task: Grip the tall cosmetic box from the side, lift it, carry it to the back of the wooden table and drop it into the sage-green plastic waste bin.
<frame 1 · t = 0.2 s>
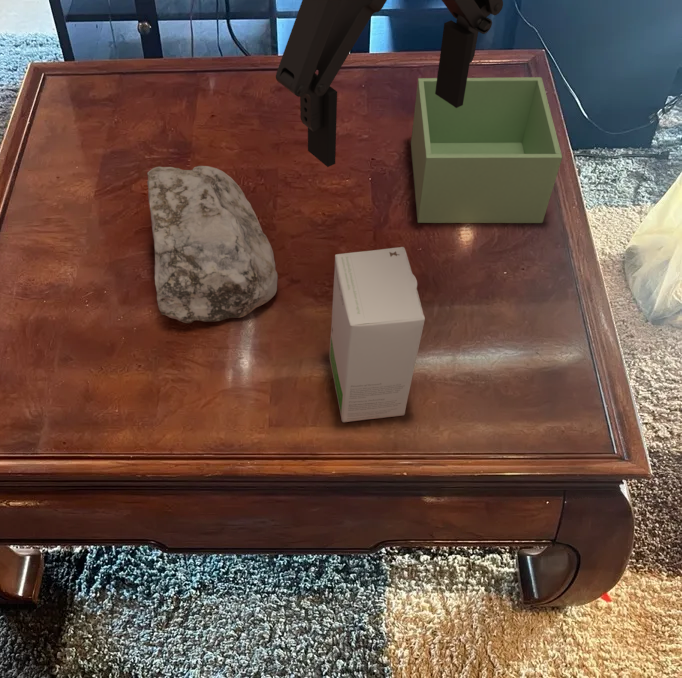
hand: (387, 127, 67), 23 cm above the table, tool pointing down, fingers open, 13 cm apart
cosmetic box: (368, 387, 80), on the table
bin: (473, 181, 97), on the table
decorative stone: (212, 260, 91), on the table
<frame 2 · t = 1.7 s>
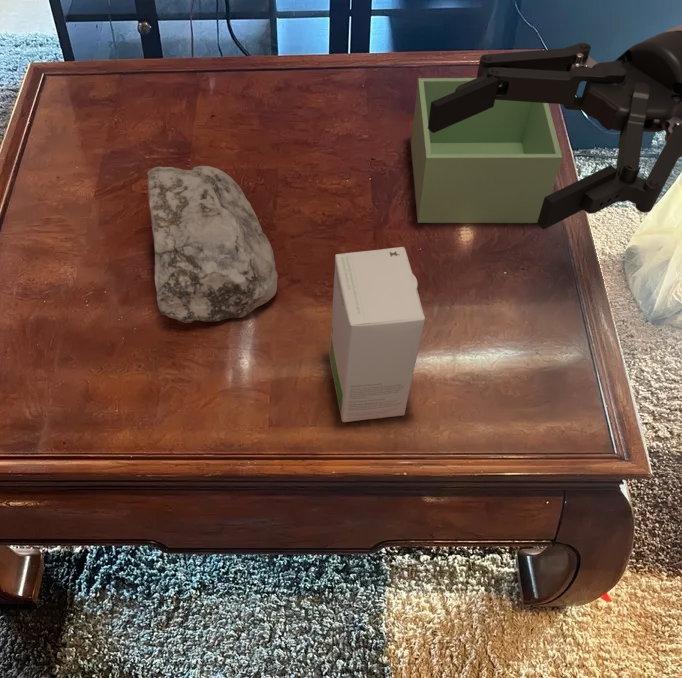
hand: (484, 163, 64), 24 cm above the table, tool horizontal, fingers open, 13 cm apart
nothing on the table moved.
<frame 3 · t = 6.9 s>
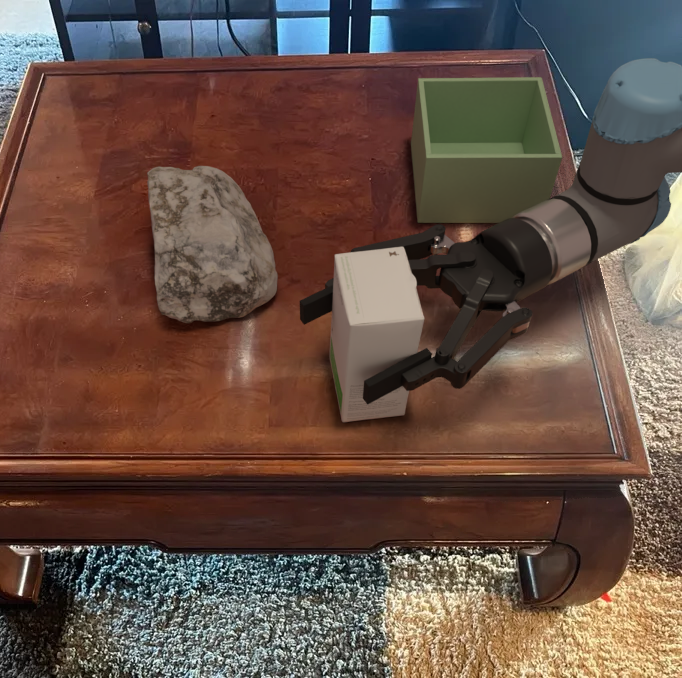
hand: (332, 351, 71), 9 cm above the table, tool horizontal, fingers closed on cosmetic box, 10 cm apart
cosmetic box: (368, 387, 80), on the table, touching gripper
everything else where it was.
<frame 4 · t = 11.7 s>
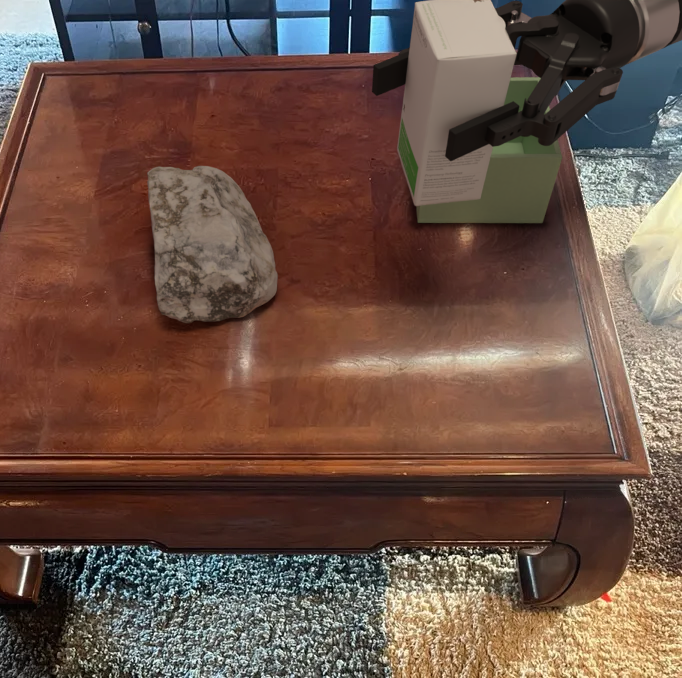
hand: (411, 111, 67), 24 cm above the table, tool horizontal, fingers closed on cosmetic box, 10 cm apart
cosmetic box: (439, 177, 76), point 15 cm above the table, touching gripper
everything else where it was.
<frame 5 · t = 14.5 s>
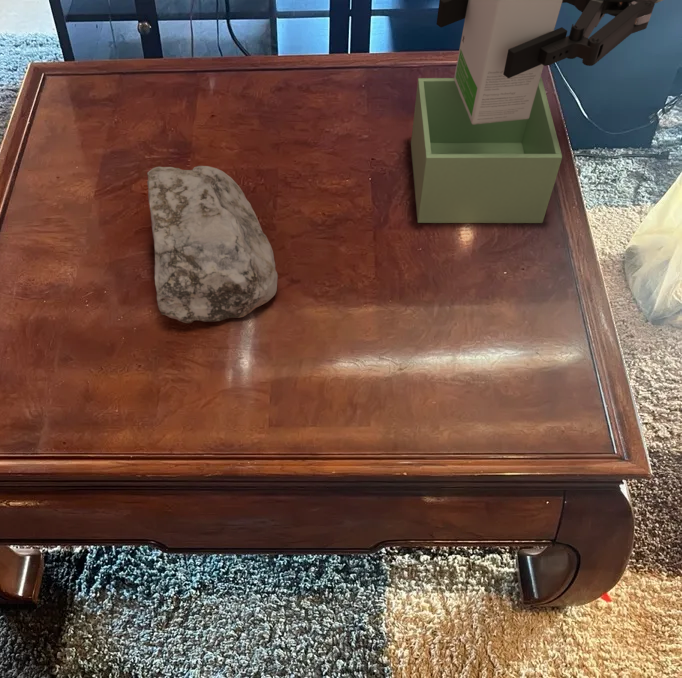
hand: (473, 38, 79), 21 cm above the table, tool horizontal, fingers closed on cosmetic box, 10 cm apart
cosmetic box: (492, 101, 87), point 12 cm above the table, touching gripper
everything else where it was.
when the fingers open (15 cm above the table, at t = 16.8 s): cosmetic box drops 6 cm, resting on bin.
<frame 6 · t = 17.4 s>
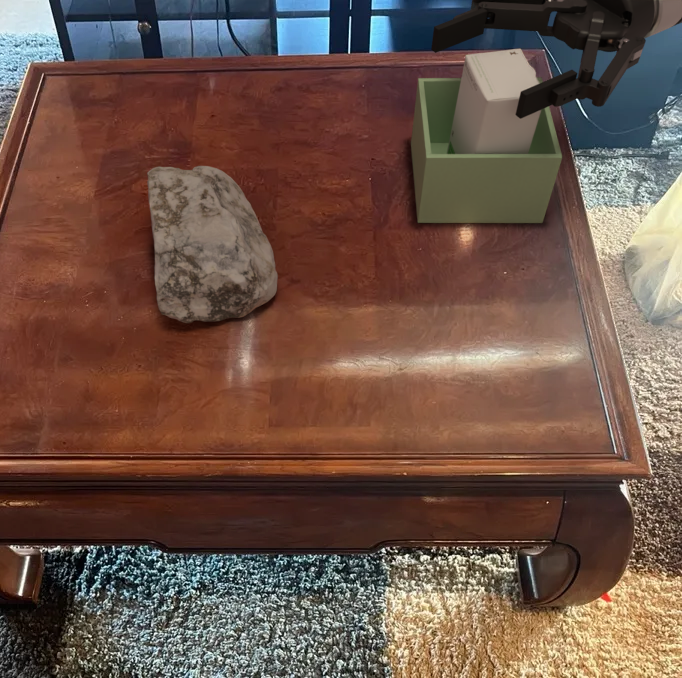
hand: (475, 71, 82), 17 cm above the table, tool horizontal, fingers open, 13 cm apart
cosmetic box: (479, 187, 96), resting on bin
everything else where it was.
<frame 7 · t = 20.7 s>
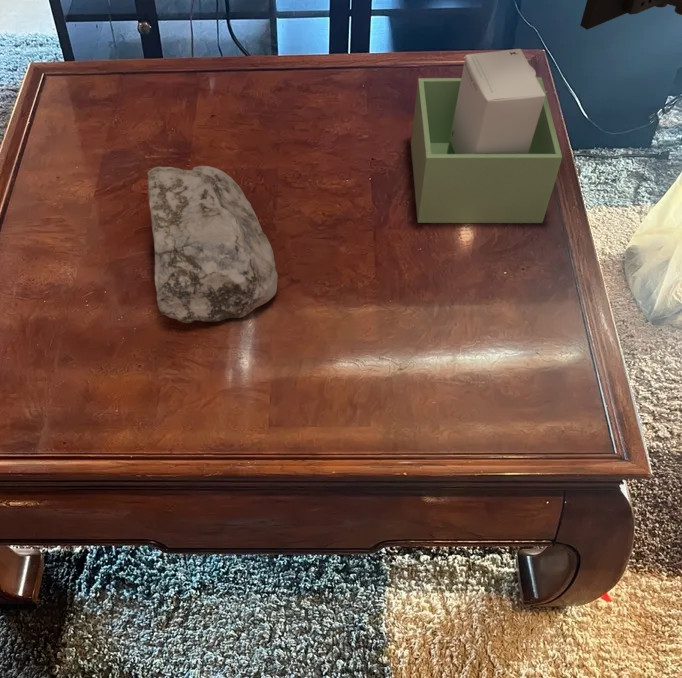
nothing on the table moved.
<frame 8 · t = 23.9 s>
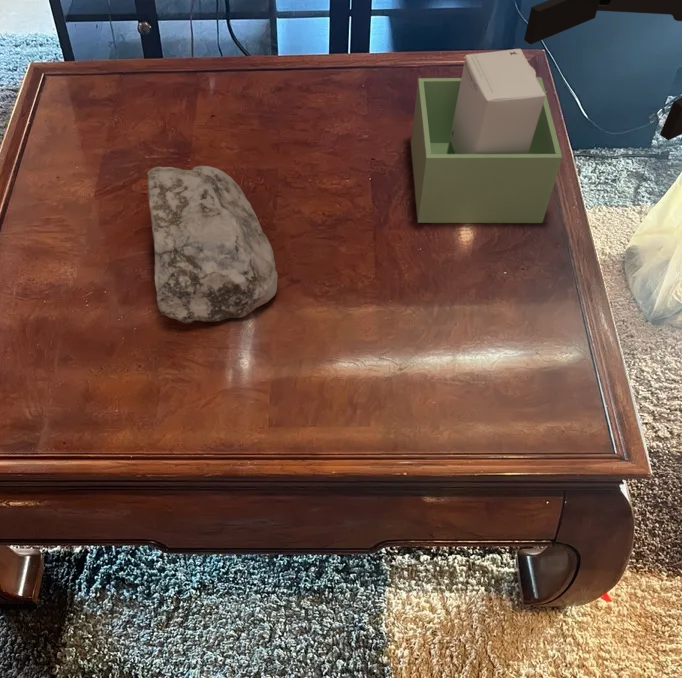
hand: (595, 70, 57), 32 cm above the table, tool horizontal, fingers open, 13 cm apart
nothing on the table moved.
at the end: cosmetic box inside the target area in the bin (1.5 cm from its centre), point 0.4 cm above the bin's base; the gripper is holding nothing; cosmetic box moved 31.8 cm from its start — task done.
